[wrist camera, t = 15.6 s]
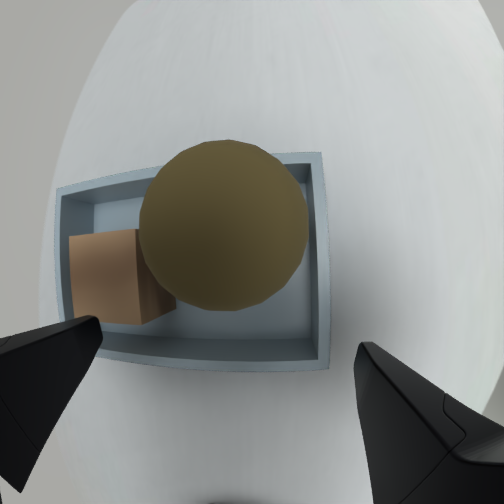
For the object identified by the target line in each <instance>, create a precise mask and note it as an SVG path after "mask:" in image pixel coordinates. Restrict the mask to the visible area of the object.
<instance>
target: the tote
mask: <svg viewBox="0 0 504 504" xmlns="http://www.w3.org/2000/svg"><path fill="white" fill-rule="evenodd" d="M271 155H272V156H274V157H275V158H277V159H278V160H280V161H281V162H282V163H283V165H284V166H285V167H286V168H287V169H288V171H289V172H290V173H291V174H292V176H293V177H294V178H295V179H296V180H297V182H298V183H299V185H300V188H301V191H302V193H303V196H304V199H305V201H306V204H307V207H308V219H309V238H308V241H307V245H306V248H305V251H304V255H303V258H302V261H301V264H300V265H299V267H298V268H297V270H296V271H295V272H294V274H293V275H292V277H291V278H290V279H289V281H288V282H287V284H286V285H285V286H284V287H283V288H282V289H281V290H279V291H278V292H276V293H275V294H274V295H272V296H271V297H269V298H268V299H267V300H265V301H264V302H262V303H261V304H258V305H254V306H251V307H248V308H245V309H241V310H238V311H208V310H203V309H201V308H198V307H195V306H192V305H190V304H187V303H185V302H182V301H179V300H178V299H177V298H176V309H175V310H173V311H171V312H169V313H166V314H164V315H162V316H160V317H158V318H156V319H154V320H152V321H150V322H148V323H146V324H143V325H129V324H116V323H104V322H100V326H101V330H102V333H103V342H102V344H101V346H100V348H99V349H98V351H97V353H96V355H95V356H96V357H101V358H107V359H112V360H118V361H124V362H131V363H138V364H145V365H153V366H162V367H171V368H182V369H194V370H209V371H233V372H286V371H309V370H324V369H329V363H330V322H331V299H330V258H329V236H328V220H327V206H326V194H325V183H324V173H323V163H322V155H321V152H299V153H276V154H271ZM162 167H163V166H158V167H152V168H146V169H141V170H135V171H130V172H125V173H120V174H115V175H111V176H106V177H102V178H97V179H93V180H89V181H85V182H81V183H77V184H73V185H69V186H65V187H61V188H58V189H57V192H56V205H55V226H54V258H55V279H56V293H57V303H58V312H59V319H60V322H64V321H67V320H71V319H74V318H75V317H74V309H73V300H72V290H71V277H70V258H69V236H77V235H84V234H92V233H101V232H109V231H118V230H126V229H139V213H140V209H141V206H142V203H143V200H144V197H145V194H146V191H147V188H148V187H149V185H150V184H151V182H152V181H153V179H154V178H155V176H156V175H157V173H158V172H159V170H160V169H161V168H162Z"/></svg>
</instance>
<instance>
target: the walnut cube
mask: <svg viewBox="0 0 504 504" xmlns="http://www.w3.org/2000/svg"><path fill="white" fill-rule="evenodd" d="M69 258H70V277H71V290H72V300H73V309H74V317H75V318H78V317H82V316H85V315H92V316H96V317H97V318H98V319H99V322H104V323H116V324H129V325H143V324H146V323H148V322H150V321H152V320H154V319H156V318H158V317H160V316H162V315H164V314H166V313H169V312H171V311H173V310H175V309H176V297H174V296H173V295H172V294H171V293H169V292H168V291H167V290H166V289H165V288H163V287H162V286H161V285H160V284H159V283H158V281H157V280H156V278H155V277H154V275H153V274H152V272H151V271H150V269H149V267H148V266H147V264H146V263H145V259H144V256H143V252H142V248H141V245H140V241H139V229H126V230H118V231H109V232H101V233H92V234H84V235H77V236H69Z"/></svg>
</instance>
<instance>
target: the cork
mask: <svg viewBox="0 0 504 504" xmlns="http://www.w3.org/2000/svg"><path fill="white" fill-rule="evenodd" d="M308 238H309V219H308V207H307V204H306V201H305V199H304V196H303V193H302V191H301V188H300V185H299V183H298V182H297V180H296V179H295V178H294V177H293V176H292V174H291V173H290V172H289V171H288V169H287V168H286V167H285V166H284V165H283V163H282V162H281V161H280V160H278V159H277V158H275V157H274V156H272V155H271V154H269V153H267V152H266V151H264V150H262V149H261V148H259V147H257V146H256V145H252V144H247V143H243V142H239V141H234V140H220V141H210V142H203V143H201V144H199V145H196V146H194V147H191V148H189V149H186V150H184V151H182V152H180V153H179V154H178V155H177V156H175V157H174V158H173V159H172V160H170V161H169V162H168V163H167V164H166V165H164V166H163V167H162V168H161V169H160V170H159V172H158V173H157V175H156V176H155V178H154V179H153V181H152V182H151V184H150V185H149V187H148V188H147V191H146V194H145V197H144V200H143V203H142V206H141V209H140V213H139V241H140V245H141V248H142V252H143V256H144V259H145V263H146V264H147V266H148V267H149V269H150V271H151V272H152V274H153V275H154V277H155V278H156V280H157V281H158V283H159V284H160V285H161V286H162V287H163V288H165V289H166V290H167V291H168V292H169V293H171V294H172V295H173V296H174V297H176V298H177V299H178V300H179V301H182V302H185V303H187V304H190V305H192V306H195V307H198V308H201V309H203V310H208V311H238V310H241V309H245V308H248V307H251V306H254V305H258V304H261V303H262V302H264V301H265V300H267V299H268V298H269V297H271V296H272V295H274V294H275V293H276V292H278V291H279V290H281V289H282V288H283V287H284V286H285V285H286V284H287V282H288V281H289V279H290V278H291V277H292V275H293V274H294V272H295V271H296V270H297V268H298V267H299V265H300V264H301V261H302V258H303V255H304V251H305V248H306V245H307V241H308Z"/></svg>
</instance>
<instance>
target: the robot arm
mask: <svg viewBox="0 0 504 504" xmlns="http://www.w3.org/2000/svg"><path fill="white" fill-rule="evenodd" d="M102 342H103V333H102V330H101V326H100V322H99V319H98V318H97V317H96V316H92V315H85V316H82V317H78V318H74V319H71V320H67V321H64V322H60V323H56V324H53V325H49V326H45V327H42V328H38V329H34V330H30V331H27V332H23V333H19V334H15V335H13V336H8V337H4V338H0V476H1V477H2V478H3V479H4V480H6V481H7V482H8V483H9V484H10V485H11V486H12V487H13V488H14V489H16V490H17V491H18V492H19V493H21V492H22V491H23V489H24V486H25V484H26V482H27V480H28V478H29V476H30V474H31V471H32V469H33V467H34V465H35V463H36V461H37V459H38V457H39V455H40V452H41V451H42V449H43V447H44V445H45V443H46V441H47V439H48V438H49V436H50V434H51V432H52V430H53V428H54V427H55V425H56V423H57V421H58V420H59V418H60V416H61V414H62V413H63V411H64V409H65V407H66V406H67V404H68V402H69V401H70V399H71V397H72V396H73V394H74V392H75V391H76V389H77V387H78V386H79V384H80V382H81V381H82V379H83V378H84V376H85V374H86V373H87V371H88V369H89V367H90V365H91V363H92V361H93V359H94V357H95V355H96V353H97V351H98V349H99V348H100V346H101V344H102ZM354 377H355V388H356V399H357V409H358V415H359V419H360V424H361V429H362V435H363V440H364V445H365V451H366V456H367V462H368V468H369V475H370V481H371V488H372V495H373V503H374V504H504V427H503V426H501V425H499V424H498V423H495V422H494V421H492V420H490V419H488V418H486V417H485V416H483V415H481V414H479V413H477V412H476V411H474V410H472V409H470V408H469V407H467V406H465V405H464V404H462V403H461V402H459V401H458V400H456V399H454V398H453V397H452V396H450V395H449V394H447V393H445V392H444V391H443V390H441V389H440V388H438V387H437V386H436V385H434V384H433V383H431V382H430V381H428V380H427V379H425V378H424V377H423V376H421V375H420V374H418V373H417V372H415V371H414V370H412V369H411V368H409V367H408V366H407V365H405V364H404V363H402V362H401V361H399V360H398V359H397V358H395V357H394V356H392V355H391V354H389V353H388V352H386V351H385V350H384V349H382V348H381V347H379V346H378V345H376V344H375V343H373V342H361V343H360V344H359V346H358V350H357V354H356V358H355V362H354ZM0 504H2V499H1V494H0Z"/></svg>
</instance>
